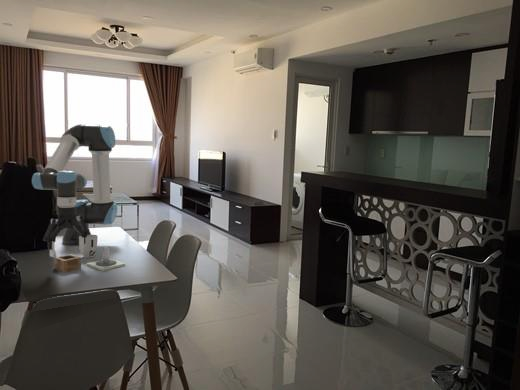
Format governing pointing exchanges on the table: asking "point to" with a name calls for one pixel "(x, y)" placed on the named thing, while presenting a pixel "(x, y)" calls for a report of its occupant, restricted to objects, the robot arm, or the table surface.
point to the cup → (90, 246)
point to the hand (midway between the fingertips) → (67, 253)
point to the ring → (67, 262)
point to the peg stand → (106, 262)
